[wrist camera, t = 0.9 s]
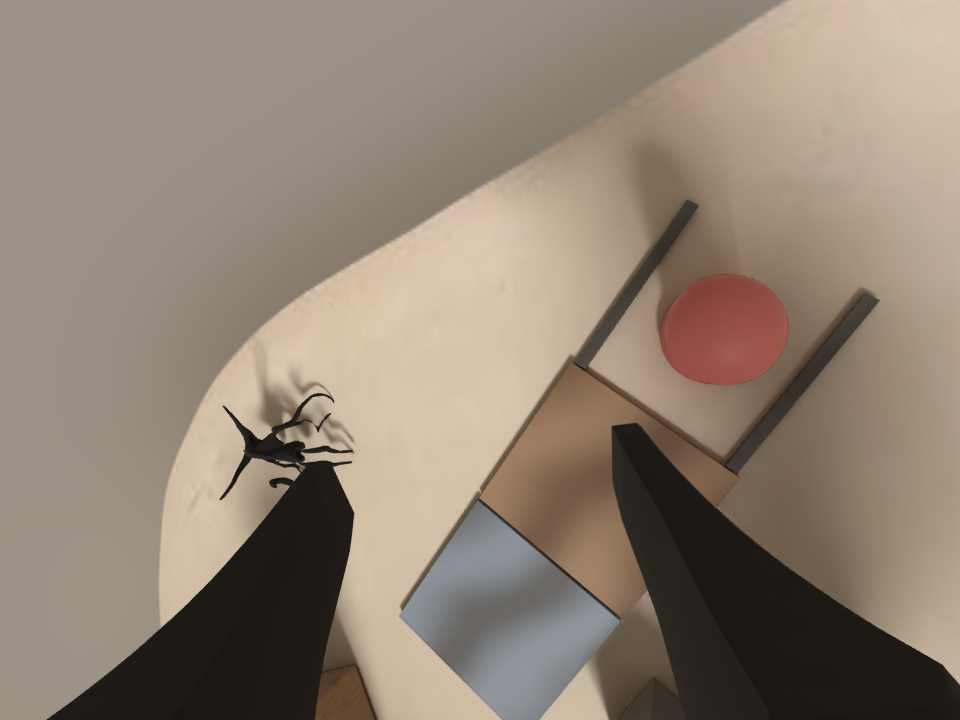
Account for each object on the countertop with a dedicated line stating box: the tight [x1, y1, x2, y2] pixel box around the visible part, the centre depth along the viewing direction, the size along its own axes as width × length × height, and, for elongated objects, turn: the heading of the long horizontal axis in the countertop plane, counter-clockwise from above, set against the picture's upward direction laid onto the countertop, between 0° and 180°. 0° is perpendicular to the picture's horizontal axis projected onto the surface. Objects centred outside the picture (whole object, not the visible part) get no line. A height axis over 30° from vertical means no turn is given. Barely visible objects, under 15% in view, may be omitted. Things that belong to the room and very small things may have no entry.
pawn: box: [660, 274, 788, 385], centre depth 20 cm, size 5×5×10 cm
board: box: [399, 200, 880, 720], centre depth 27 cm, size 10×30×1 cm, turn 147°
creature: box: [219, 393, 353, 500], centre depth 32 cm, size 8×5×8 cm
